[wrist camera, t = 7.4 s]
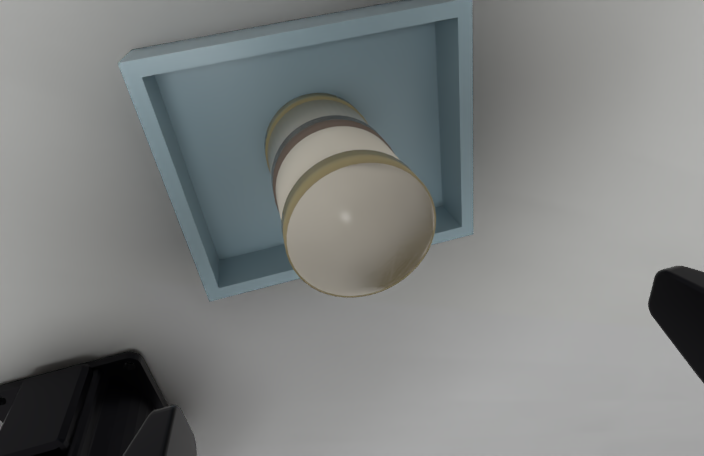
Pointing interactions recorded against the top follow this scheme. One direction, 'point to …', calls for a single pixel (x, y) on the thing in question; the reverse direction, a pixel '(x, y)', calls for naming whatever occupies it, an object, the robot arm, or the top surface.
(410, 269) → the fuse
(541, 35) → the top surface
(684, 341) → the robot arm
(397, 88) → the tray
